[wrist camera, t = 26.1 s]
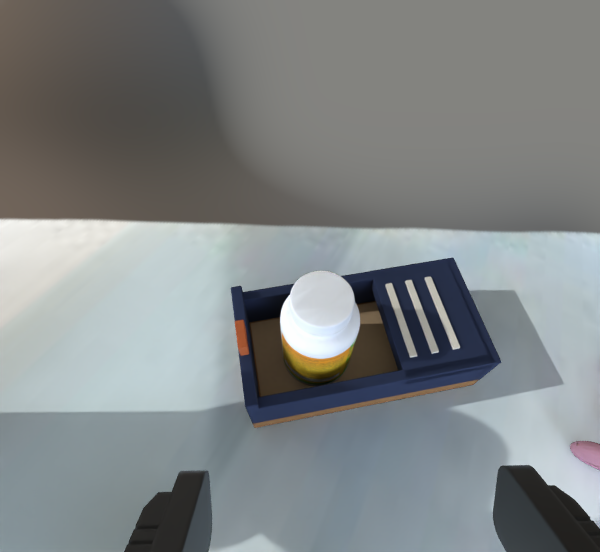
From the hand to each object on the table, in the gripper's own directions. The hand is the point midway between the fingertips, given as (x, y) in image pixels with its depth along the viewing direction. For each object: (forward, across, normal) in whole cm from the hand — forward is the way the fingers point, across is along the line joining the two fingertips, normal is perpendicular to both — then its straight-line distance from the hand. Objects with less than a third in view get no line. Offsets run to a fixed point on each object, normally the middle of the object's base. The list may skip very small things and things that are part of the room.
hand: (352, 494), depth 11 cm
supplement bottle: (+22, 0, +6) cm, 22 cm away
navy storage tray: (+23, -3, +6) cm, 24 cm away
